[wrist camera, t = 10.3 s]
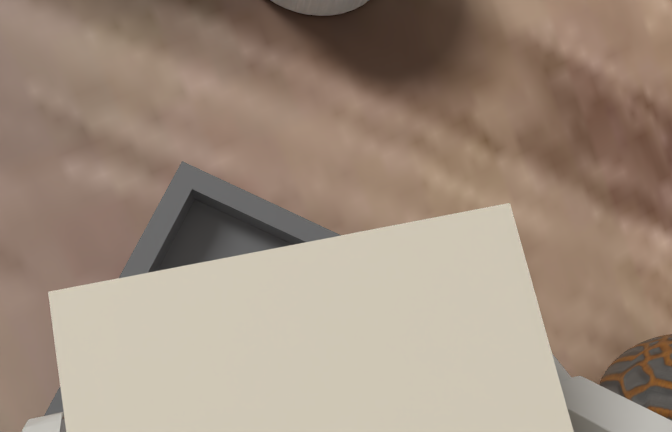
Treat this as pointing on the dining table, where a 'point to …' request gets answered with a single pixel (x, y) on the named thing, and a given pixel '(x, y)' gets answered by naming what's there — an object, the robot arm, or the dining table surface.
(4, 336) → the dining table surface
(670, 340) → the vase
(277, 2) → the ramekin
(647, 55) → the dining table surface
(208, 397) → the cream block
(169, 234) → the tray
